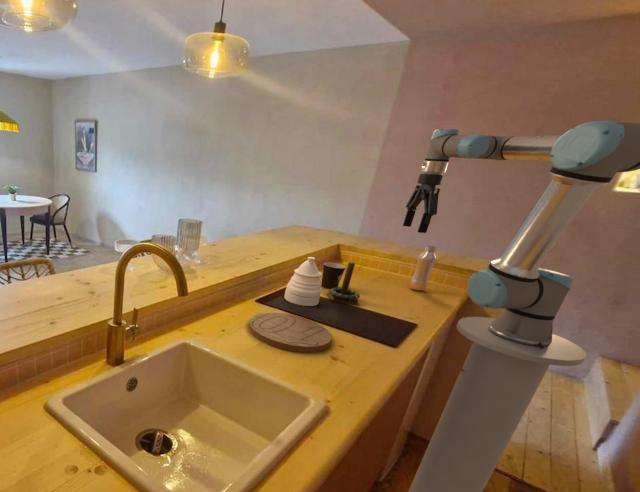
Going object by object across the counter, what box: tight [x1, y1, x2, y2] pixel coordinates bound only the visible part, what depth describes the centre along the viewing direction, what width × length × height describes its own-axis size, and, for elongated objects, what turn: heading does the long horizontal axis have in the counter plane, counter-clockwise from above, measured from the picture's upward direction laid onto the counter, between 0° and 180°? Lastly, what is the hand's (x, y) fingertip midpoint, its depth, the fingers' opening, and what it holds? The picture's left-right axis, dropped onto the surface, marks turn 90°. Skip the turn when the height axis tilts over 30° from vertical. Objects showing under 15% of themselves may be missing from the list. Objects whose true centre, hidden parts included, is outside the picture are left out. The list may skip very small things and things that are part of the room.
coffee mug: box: [320, 262, 346, 290], centre depth 173 cm, size 12×9×10 cm
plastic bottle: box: [408, 245, 437, 292], centre depth 172 cm, size 6×7×20 cm
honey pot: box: [284, 256, 323, 307], centre depth 153 cm, size 13×13×18 cm
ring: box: [328, 286, 361, 301], centre depth 159 cm, size 11×11×2 cm
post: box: [327, 261, 359, 305], centre depth 157 cm, size 9×9×16 cm
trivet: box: [248, 312, 332, 353], centre depth 127 cm, size 25×25×2 cm
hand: (413, 229), depth 156 cm, fingers open, 13 cm apart
